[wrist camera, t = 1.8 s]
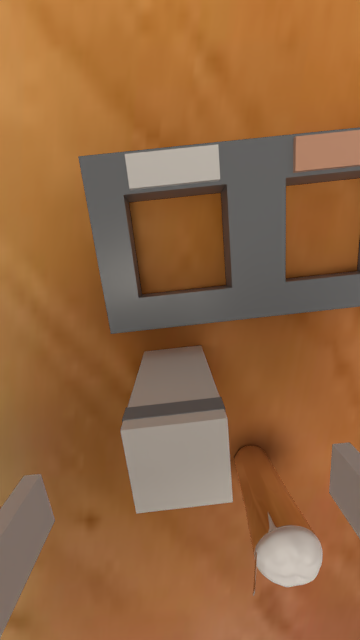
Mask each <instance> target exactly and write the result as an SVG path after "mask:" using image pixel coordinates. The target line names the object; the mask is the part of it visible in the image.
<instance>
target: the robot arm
mask: <svg viewBox="0 0 360 640" xmlns="http://www.w3.org/2000/svg"><path fill="white" fill-rule="evenodd" d="M329 493H330V495H331V496H332V498H333V499H334V501H335V502H336V504H337V505H338V507H339V508H340V510H341V511H342V513H343V514H344V516H345V517H346V519H347V520H348V522H349V523H350V525H351V526H352V528H353V529H354V531H355V532H356V534H357V535H358V537H359V538H360V453H359V452H358V451H357V450H356V449H355V448H354V447H353V446H352V444H351V443H340V444H332V459H331V475H330V490H329ZM54 522H55V518H54V515H53V512H52V509H51V505H50V502H49V499H48V496H47V492H46V489H45V486H44V483H43V479H42V476H41V474H34V475H25V476H23V478H22V479H21V480H20V482H19V483H18V485H17V486H16V487H15V489H14V490H13V492H12V493H11V495H10V496H9V497H8V499H7V500H6V502H5V503H4V504H3V506H2V507H1V509H0V637H1V635H2V633H3V631H4V629H5V627H6V625H7V622H8V620H9V618H10V616H11V614H12V612H13V610H14V607H15V605H16V603H17V601H18V599H19V597H20V595H21V592H22V590H23V588H24V586H25V584H26V582H27V580H28V577H29V575H30V573H31V571H32V569H33V567H34V564H35V562H36V560H37V558H38V556H39V554H40V552H41V549H42V547H43V545H44V543H45V541H46V539H47V537H48V534H49V532H50V530H51V528H52V526H53V524H54Z"/></svg>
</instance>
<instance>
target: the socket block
mask: <svg viewBox="0 0 360 640" xmlns="http://www.w3.org/2000/svg"><path fill="white" fill-rule="evenodd" d="M79 162H80V168H81V173H82V179H83V184H84V190H85V195H86V201H87V206H88V211H89V217H90V222H91V228H92V233H93V239H94V244H95V250H96V255H97V260H98V266H99V271H100V277H101V282H102V288H103V293H104V299H105V304H106V309H107V315H108V320H109V326H110V331H111V334H114V333H123V332H132V331H141V330H150V329H159V328H168V327H177V326H186V325H195V324H204V323H213V322H222V321H231V320H240V319H250V318H259V317H268V316H277V315H286V314H295V313H304V312H313V311H322V310H331V309H340V308H349V307H358V306H360V242H359V255H358V269H357V271H353V272H344V273H335V274H326V275H316V276H307V277H298V278H289V279H285V250H286V186H289V185H299V184H308V183H318V182H327V181H337V180H346V179H356V178H360V128H350V129H341V130H331V131H321V132H312V133H302V134H292V135H282V136H273V137H263V138H253V139H244V140H234V141H224V142H214V143H205V144H195V145H185V146H176V147H166V148H156V149H147V150H137V151H127V152H117V153H108V154H98V155H88V156H79ZM213 193H221V203H222V221H223V239H224V256H225V274H226V285H224V286H215V287H206V288H197V289H188V290H179V291H169V292H160V293H151V294H142V291H141V284H140V277H139V271H138V264H137V257H136V250H135V243H134V236H133V229H132V222H131V215H130V208H129V202H137V201H146V200H156V199H165V198H175V197H184V196H194V195H203V194H213Z"/></svg>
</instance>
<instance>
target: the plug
mask: <svg viewBox="0 0 360 640" xmlns="http://www.w3.org/2000/svg"><path fill="white" fill-rule="evenodd" d="M122 421H123V424H122V427H121V430H120V431H121V436H122V441H123V447H124V452H125V457H126V462H127V467H128V473H129V478H130V483H131V488H132V493H133V498H134V504H135V509H136V513H145V512H153V511H162V510H170V509H179V508H187V507H196V506H204V505H213V504H221V503H230V502H233V497H232V481H231V466H230V451H229V435H228V420H227V416H226V413H225V407H224V404H223V401H222V398H221V397H220V396H219V394H218V391H217V388H216V385H215V382H214V380H213V377H212V374H211V371H210V369H209V366H208V363H207V360H206V358H205V355H204V352H203V349H202V346H201V345H199V346H190V347H181V348H172V349H163V350H154V351H145V352H144V355H143V358H142V361H141V365H140V368H139V371H138V374H137V378H136V381H135V384H134V388H133V391H132V394H131V397H130V401H129V404H128V407H127V408H126V409H125V413H124V416H123V419H122Z"/></svg>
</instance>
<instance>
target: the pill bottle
mask: <svg viewBox="0 0 360 640" xmlns="http://www.w3.org/2000/svg"><path fill="white" fill-rule="evenodd" d="M234 460H235V466H236V471H237V475H238V479H239V483H240V488H241V492H242V496H243V501H244V505H245V510H246V516H247V522H248V527H249V532H250V537H251V542H252V547H253V552H254V557H255V571H254V587H253V596H254V593H255V582H256V565H257V567H258V569H259V571H260V572H261V573H262V574H263V575H264V576H265V577H266V578H268V579H269V580H270V581H272V582H274V583H276V584H279V585H282V586H284V587H292V586H297V585H303V584H306V583H309V582H311V581H312V580H314V579H315V578H316V576H317V574H318V572H319V569H320V566H321V564H322V547H321V544H320V541H319V539H318V538H317V536H316V535H315V533H314V531H313V530H312V528H311V527H310V525H309V524H308V522H307V520H306V519H305V517H304V516H303V514H302V512H301V511H300V509H299V508H298V506H297V505H296V503H295V501H294V500H293V498H292V496H291V495H290V493H289V491H288V490H287V488H286V486H285V485H284V483H283V481H282V480H281V478H280V476H279V475H278V473H277V471H276V470H275V468H274V466H273V465H272V463H271V461H270V460H269V458H268V456H267V455H266V453H265V452H264V451H263V450H262V449H261V448H259V447H258V446H249V445H248V446H246V447H244V448H242V449H240V450H238V452H237V454H236V455H235V457H234Z"/></svg>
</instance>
